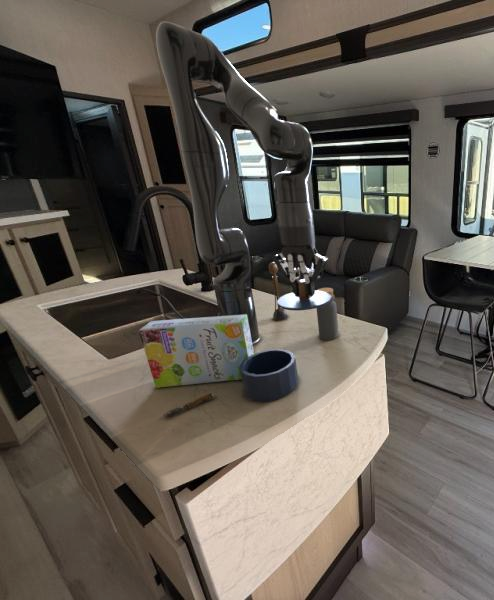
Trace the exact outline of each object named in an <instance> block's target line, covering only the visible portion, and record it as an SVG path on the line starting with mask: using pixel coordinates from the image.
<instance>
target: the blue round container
mask: <svg viewBox="0 0 494 600" xmlns="http://www.w3.org/2000/svg"><path fill="white" fill-rule="evenodd" d="M297 367H298V366H297V359H296V356H295V354H294V352H292V351H289V350H288V349H282V348H275V349H274V348H273V349H266V350H262V351H258V352H256V353H254V354H253V355H251V356H249V357H248V358H246V359H245V360H243V362H242V363H241V365H240V372H241V377H242V379H241V382H242V387H243V392H244V395H245V397H246V398H247V399H248V400H250V401H253V402H258V403H266V402H267V403H268V402H272V401H273V402H274V401H277V400H280V399H282V398H284V397H286V396H288V395H290V394H291V393H292V392H293V391H294V390H295V389H296V388H297V386H298V384H299V374H298V368H297Z"/></svg>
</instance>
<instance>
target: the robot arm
mask: <svg viewBox="0 0 494 600" xmlns="http://www.w3.org/2000/svg"><path fill="white" fill-rule="evenodd" d="M155 45H156V51H157V57H158V60H159V64H160V68H161V71H162V74H163V78H164V82H165V85H166V89H167V91H168V96H169V99H170V102H171V107H172V110H173V115H174V120H175V124H176V129H177V134H178V140H179V145H180V152H181V157H182V161H183V165H184V166H183V167H184V171H185V174H186V175H185V176H186V179H187V183H188V189H189V194H190V200H191V205H192V214H193V222H194V223H193V224H194V233H195V234H194V235H195V242H196V243H195V244H196V247H197V251H198V254H199V256H200V259H201V260H202V261H203V263H205V264H206V265H207V266H209V267H219V266H223V265H224V268H223V269H222V271H220V272H219V274H217V275H216V276H215V277H214V278H213V280H212V286H213V290H214V294H215V299H216V304H217V308H218V313H217V315H216V317H217V316H231V315H245V314H247V317H248V323H249V328H250V334H251V340H252V345H253V346H254V345H255V344H257V343H259V342H260V341H261V334H260V331H259V330H260V329H259V323H258V317H257V311H256V306H255V300H254V294H253V289H252V283H251V278H252V266H251V265H252V264H251V257H250V247H249V243H248V240H247V238H246V235H245V234H244V233H243V231H242V230H241V229H239V228H238V227H233V226H231V227H230V226H229V227H223V228H222V227H221V228H220V227H219V216H218V214H219V213H218V212H219V207H220V203H221V200H222V198H223V196H224V194H225V191H226V188H227V186H228V182H229V178H230V172H229V171H230V170H229V165H228V158H227V152H226V151H227V150H226V147H225V144H224V142H223V140H222V139H221V137H220V135H219V133H218V132H217V131H216V129H215V128H214V126H213V124H212V123H211V122H210V121H209V119H208V117H207V116H206V114H205V113H204V111H203V110H202V108H201V106H200V104H199V102H198V99H197V97H196V93H195V89H194V85H193V82H197V83H201V84H207V85H210V86H212V87H214V88H216V89H217V90H219V91H220V93H222V96H223V101H224V103H225V105H226V107H227V109H228V111H229V112H230V113H231V114H232V115H233V116H234V117H235V118H236V119H237V120H238V121H239V122H240V123H241V124H242V125H243V126H245V128H246V129H248V130H249V132H250V133H251V135H252V137H253V139H254V140H255V142H256V143H257V145H258V147H259V148H260V149H261V151H262V152H263V153H265V154H266V155H268V156H269V157H271V158H273V159H277V160H287V162H286V168H285V170H284V171H281V172H278V173H276V174H275V175H274V180H273V183H274V192H275V199H276V201H275V202H276V218H277V224H278V225H277V226H278V232H279V233H278V234H279V241H280V245H281V246H282V249H281V252H280V253H278V254H276V255H274V256H272V260H273V262H275V264H276V265H277V267H278V271H279V273H280V274H281V276H282V277H283V279H284V280H289V281H290V282H291V287H292V293H294V294H295V297H299V290H298V282H297V281H298V280H301V274H302V275H303V279H305V282H306V283H305V290H306V297H307V298H311V297H312V296H313V295H314V294H315V282H317V281H318V280H320V279H322V277H323V275H324V271H325V269H326V267H327V264H328V261H329V257H328V256H322V255H321V254H320V253H318V250H317V248H316V235H315V234H316V233H315V223H314V213H313V209H312V203H311V194H310V184H309V183H310V181H309V180H310V176H311V169H312V163H313V156H314V144H313V143H314V142H313V139H312V136H311V134H310V132H309V131H308V129H307V128H306V127H305V126H304V125H302V124H300V123H296V122H290V121H286V120H281V119H279V114H278V111H277V109H276V108H275V107H274V105H273V104H272V103H271V102H270V101H268V100H267V99H266V98H265V97H264V96H263V95H262V94H261V93H260V92H259V91H257V90H256V89H255V88H254V87H253V86H252V85H250V84H249V83H248V82H247V81H246V80H245V78H243V77H242V76H241V75H240V73H239V72H238V71H237V69H236V68H235V67H234V66H233V64H231V62H230V61H229V60H228V59H227V57H226V56H225V55H224V53H223V52H222V50H221V49H220V48H219V47H218V46H217V45H216V44H215V42H213V40H211V39H210V38H209V37H208V36H206V35H204V34H202V33H200V32H198V31H197V32H196V31H194V30H192V29H190V28H187V27H184V26H182V25H179V24H177V23H173V22H170V21H161V22H160V23H159V24H158V25H157V28H156V33H155ZM314 261H315V262H314ZM314 263H315V268H314ZM142 291H143V292H148V293H151V294H154V295H156V296H158V297H160V298H162V299H163V300H164V301H165V302H166V303H167V304H168V306H169V307H170V309H171V310H172V311H173V312H174V313H175V314H176V315H177V316H178V317H179V319H187V318H186V317H185V316H183V315H181V313H179V311H177V310H176V308H175V307H174V305H172V303H171V302H170V300H168V298H166V297H165V296H164V295H162V294H161V293H159V292H157V291H153V290H150V289H147V288H139V289H138V290H137V293H140V292H142Z"/></svg>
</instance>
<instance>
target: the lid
mask: <svg viewBox="0 0 494 600" xmlns="http://www.w3.org/2000/svg"><path fill="white" fill-rule="evenodd" d="M297 282H298V290H299V297H295V294H294V293H293V292H290V293H286V294H284V295H282V296H280V298H279V299H278V300H277V299H276V306H277V307H278V306H279V307H280V308H282V309H284V310H285V311H286V310H287V311H308V310H315V309H317V308H319V307H322V306H324V305H326V304H328V303H329V302H330V301H331V295H330V294H329V293H327V292H323V291H317V290H315V294H314V295H313V296H312V297H311V298H307V297H306V290H305V283H306V282H305V279H304V278H303V279H301V278H300V279H299V280H298V281H297Z"/></svg>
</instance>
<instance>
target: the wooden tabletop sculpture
mask: <svg viewBox="0 0 494 600" xmlns="http://www.w3.org/2000/svg"><path fill="white" fill-rule="evenodd" d="M278 271H279V269H278V267H277V265H276V264H275V262H274V261H272V262H270V263H269V264H268V272H269V273H270V274H272V278H271V279H272V285H273V292H274V311H273V314H272V317H273V320H274V321H277V322H279V321H284V320H287V319H288V318H289V317H288V313H287V311H286V309H282V308H280V307H279V306H278V305H277V300H278V299H279V298H280V297H281V294H280V287H279V281H278V275H276V274H277V273H278Z"/></svg>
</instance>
